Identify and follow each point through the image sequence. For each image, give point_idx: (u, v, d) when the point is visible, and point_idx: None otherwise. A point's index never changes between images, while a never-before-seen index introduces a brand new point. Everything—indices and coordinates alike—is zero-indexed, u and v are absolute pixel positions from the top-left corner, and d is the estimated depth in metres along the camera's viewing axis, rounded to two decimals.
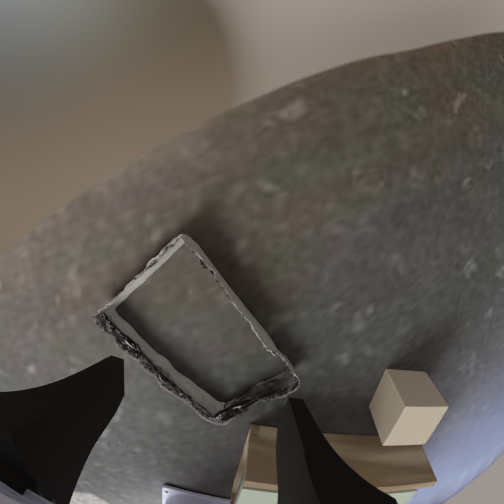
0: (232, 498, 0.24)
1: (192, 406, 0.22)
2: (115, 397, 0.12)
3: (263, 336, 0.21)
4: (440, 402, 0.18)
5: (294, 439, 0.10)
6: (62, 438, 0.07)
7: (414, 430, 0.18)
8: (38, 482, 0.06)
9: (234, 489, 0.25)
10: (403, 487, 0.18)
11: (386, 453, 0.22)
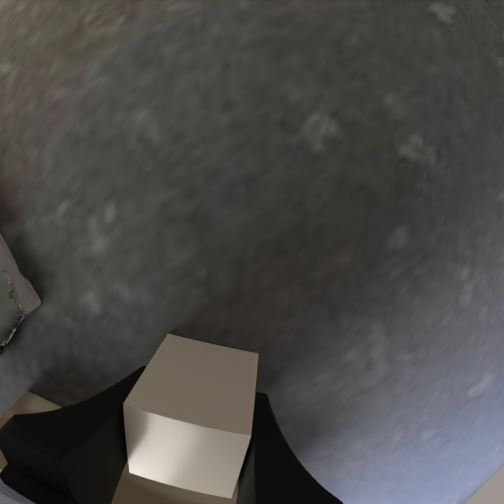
0: None
1: None
2: None
3: None
4: (234, 421, 0.09)
5: None
6: (104, 456, 0.07)
7: (182, 465, 0.09)
8: None
9: None
10: None
11: None
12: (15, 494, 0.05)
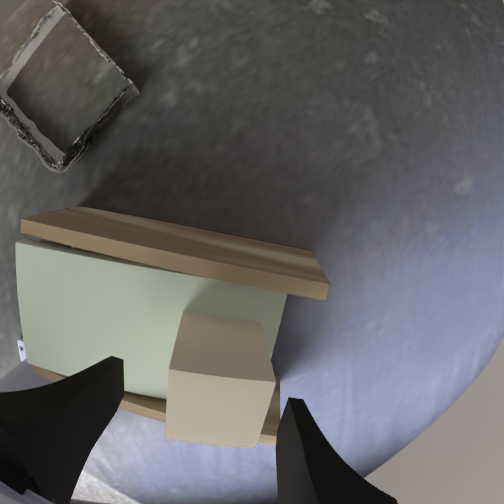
0: None
1: (39, 152, 0.18)
2: (115, 397, 0.12)
3: (103, 52, 0.17)
4: (259, 372, 0.12)
5: (294, 439, 0.10)
6: (62, 438, 0.07)
7: (215, 420, 0.12)
8: (38, 482, 0.06)
9: None
10: (251, 276, 0.14)
11: (243, 246, 0.18)
12: None
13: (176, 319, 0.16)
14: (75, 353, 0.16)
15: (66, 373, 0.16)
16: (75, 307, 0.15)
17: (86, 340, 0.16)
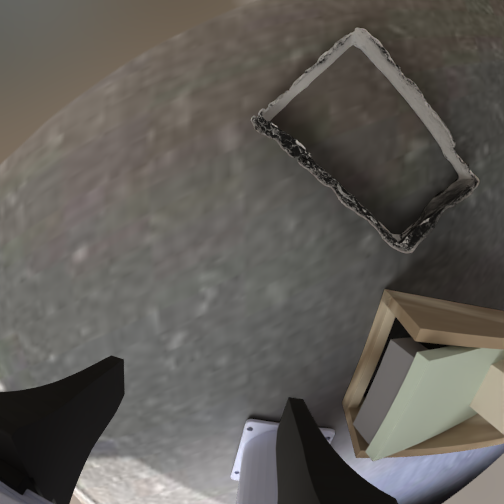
0: (351, 413, 0.21)
1: (378, 227, 0.19)
2: (115, 397, 0.12)
3: (438, 128, 0.17)
4: None
5: (294, 439, 0.10)
6: (62, 438, 0.07)
7: None
8: (38, 482, 0.06)
9: (352, 400, 0.22)
10: None
11: None
12: None
13: (486, 370, 0.18)
14: (425, 426, 0.17)
15: (406, 447, 0.17)
16: (446, 391, 0.16)
17: (439, 411, 0.17)
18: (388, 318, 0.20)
